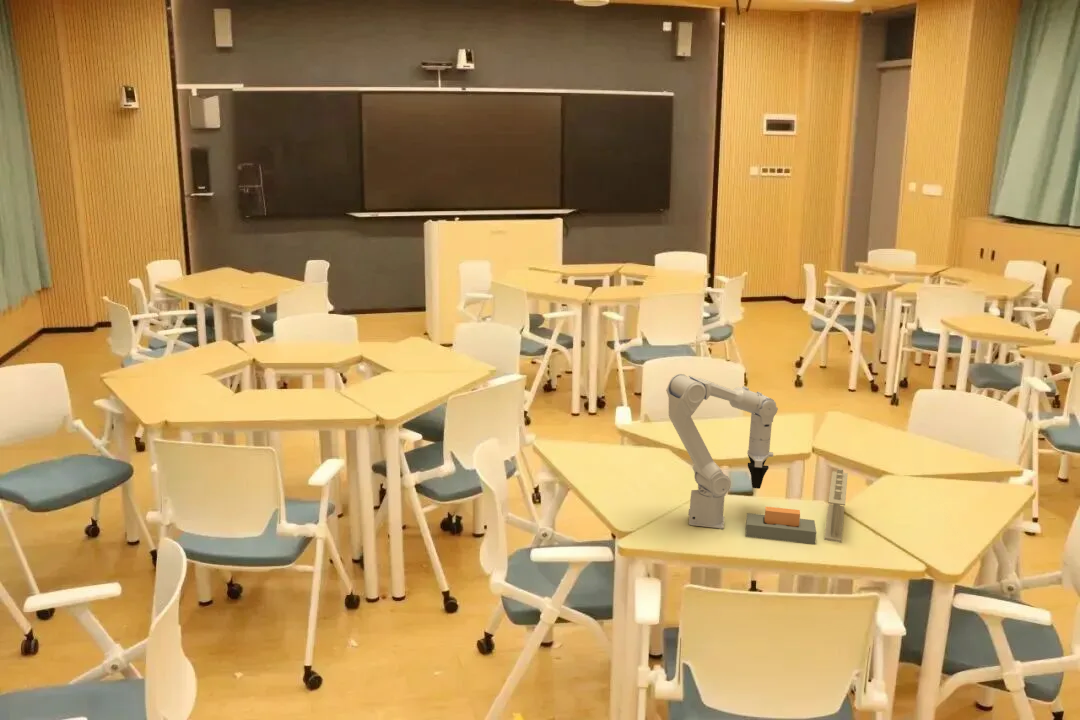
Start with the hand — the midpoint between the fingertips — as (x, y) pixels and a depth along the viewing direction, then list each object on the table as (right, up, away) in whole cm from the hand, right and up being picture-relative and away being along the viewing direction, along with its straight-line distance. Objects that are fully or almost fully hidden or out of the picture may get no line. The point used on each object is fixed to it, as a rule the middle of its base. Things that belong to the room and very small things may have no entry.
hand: (756, 483), depth 257 cm
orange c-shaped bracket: (+4, -12, -10) cm, 16 cm away
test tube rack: (+22, -11, -1) cm, 25 cm away
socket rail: (+4, -13, -10) cm, 16 cm away
